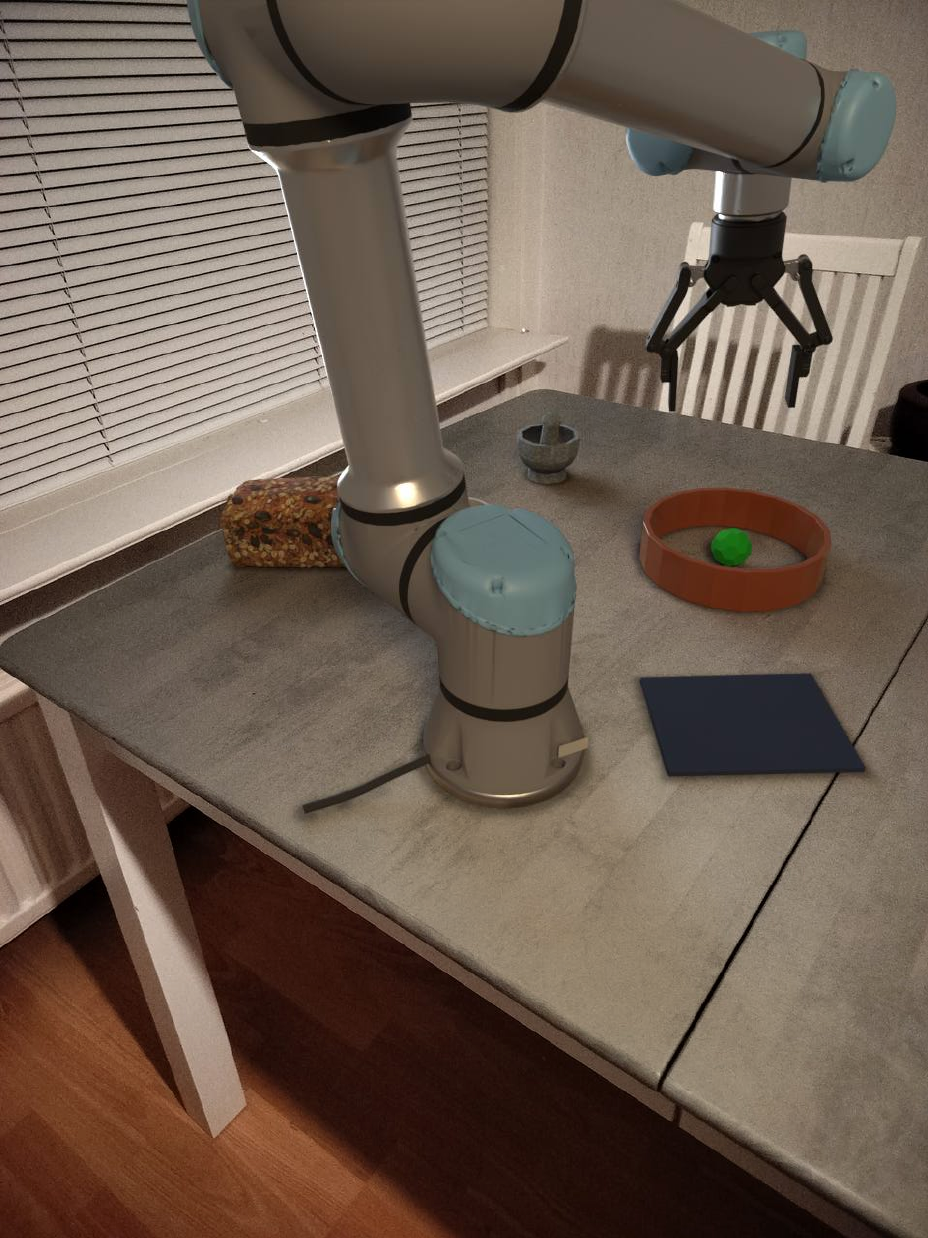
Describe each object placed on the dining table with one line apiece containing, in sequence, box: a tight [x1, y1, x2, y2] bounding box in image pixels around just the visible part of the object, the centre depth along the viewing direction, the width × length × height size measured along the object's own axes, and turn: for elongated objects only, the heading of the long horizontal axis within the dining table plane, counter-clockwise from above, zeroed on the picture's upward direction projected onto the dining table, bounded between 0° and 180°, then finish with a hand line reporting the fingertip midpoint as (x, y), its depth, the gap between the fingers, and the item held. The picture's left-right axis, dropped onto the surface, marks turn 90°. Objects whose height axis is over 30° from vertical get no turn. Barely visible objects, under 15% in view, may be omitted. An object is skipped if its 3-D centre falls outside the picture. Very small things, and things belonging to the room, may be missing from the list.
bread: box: [220, 475, 347, 568], centre depth 109 cm, size 19×11×10 cm, turn 86°
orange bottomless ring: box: [638, 487, 833, 613], centre depth 105 cm, size 23×23×6 cm
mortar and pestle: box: [516, 411, 581, 485], centre depth 127 cm, size 11×9×12 cm
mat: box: [639, 672, 867, 777], centre depth 81 cm, size 18×14×1 cm
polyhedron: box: [710, 527, 753, 567], centre depth 106 cm, size 5×5×5 cm
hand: (729, 405), depth 99 cm, fingers open, 13 cm apart
